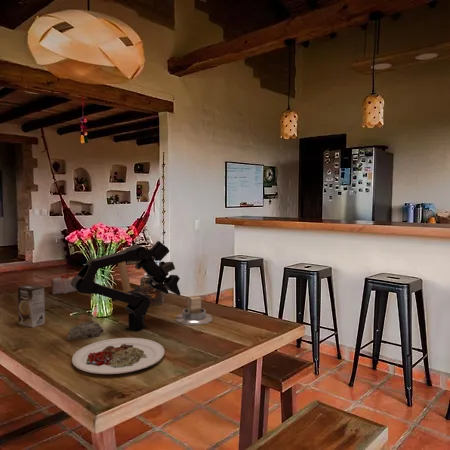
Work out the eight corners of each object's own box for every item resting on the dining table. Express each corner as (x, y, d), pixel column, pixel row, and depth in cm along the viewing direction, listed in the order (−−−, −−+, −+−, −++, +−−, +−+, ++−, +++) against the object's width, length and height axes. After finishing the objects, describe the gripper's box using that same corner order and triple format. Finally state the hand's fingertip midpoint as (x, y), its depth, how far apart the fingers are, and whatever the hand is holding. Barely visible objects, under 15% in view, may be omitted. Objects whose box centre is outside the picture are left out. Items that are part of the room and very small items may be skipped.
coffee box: (17, 324, 171) (16, 286, 170) (31, 320, 177) (30, 283, 175) (32, 327, 167) (31, 289, 166) (45, 323, 172) (44, 286, 171)
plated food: (182, 357, 138) (182, 348, 138) (104, 388, 116) (104, 377, 116) (130, 336, 158) (130, 328, 158) (55, 359, 136) (55, 349, 136)
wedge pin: (200, 317, 179) (200, 297, 178) (191, 319, 177) (191, 298, 176) (197, 315, 182) (197, 295, 182) (187, 316, 180) (187, 296, 180)
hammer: (111, 305, 209) (99, 250, 204) (108, 303, 214) (97, 248, 209) (147, 293, 219) (136, 240, 214) (143, 291, 223) (133, 239, 218)
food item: (76, 289, 234) (75, 272, 233) (79, 292, 227) (78, 275, 227) (50, 292, 227) (50, 274, 226) (53, 295, 220) (52, 277, 219)
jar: (166, 300, 211) (166, 272, 210) (160, 306, 200) (160, 276, 199) (144, 299, 212) (143, 271, 211) (137, 305, 201) (136, 275, 200)
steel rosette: (200, 327, 169) (200, 318, 168) (168, 321, 176) (168, 312, 176) (218, 317, 183) (218, 308, 183) (188, 312, 190) (188, 303, 190)
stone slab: (105, 326, 172) (104, 318, 171) (99, 339, 155) (99, 332, 155) (73, 327, 169) (73, 320, 169) (64, 342, 153) (64, 334, 152)
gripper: (176, 255, 167) (197, 281, 174) (152, 255, 181) (172, 279, 188) (159, 275, 161) (181, 301, 168) (136, 273, 176) (157, 297, 182)
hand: (173, 293), depth 177 cm, fingers open, 9 cm apart
